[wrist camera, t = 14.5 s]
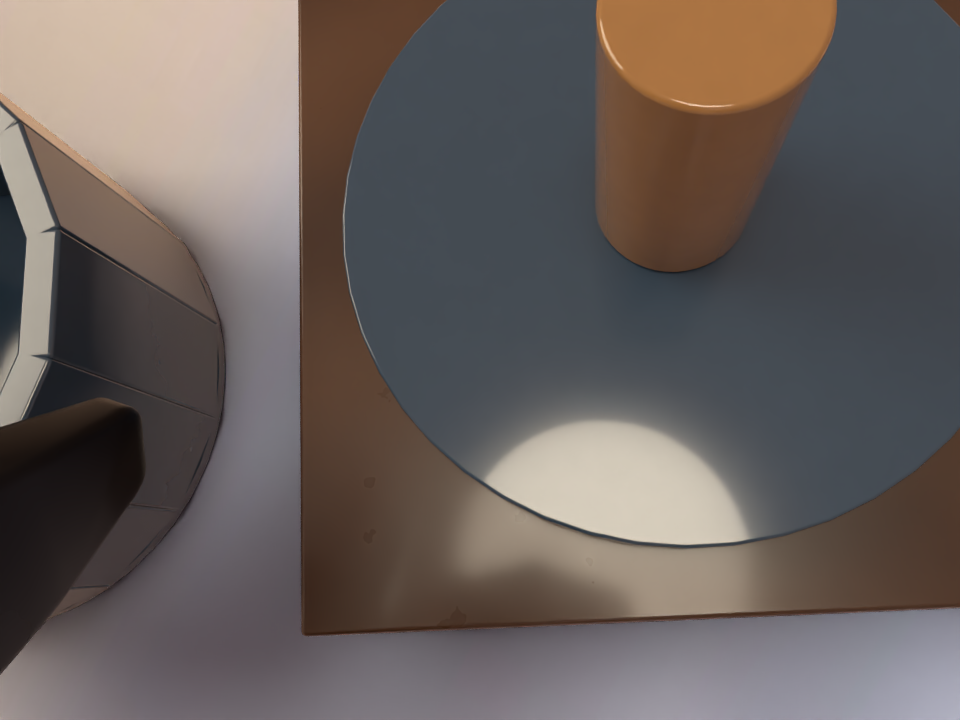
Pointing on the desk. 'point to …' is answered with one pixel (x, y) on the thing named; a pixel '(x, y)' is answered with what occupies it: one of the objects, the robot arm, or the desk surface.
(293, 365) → the desk surface
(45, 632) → the desk surface
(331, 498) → the trivet
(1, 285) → the pot
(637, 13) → the lid
